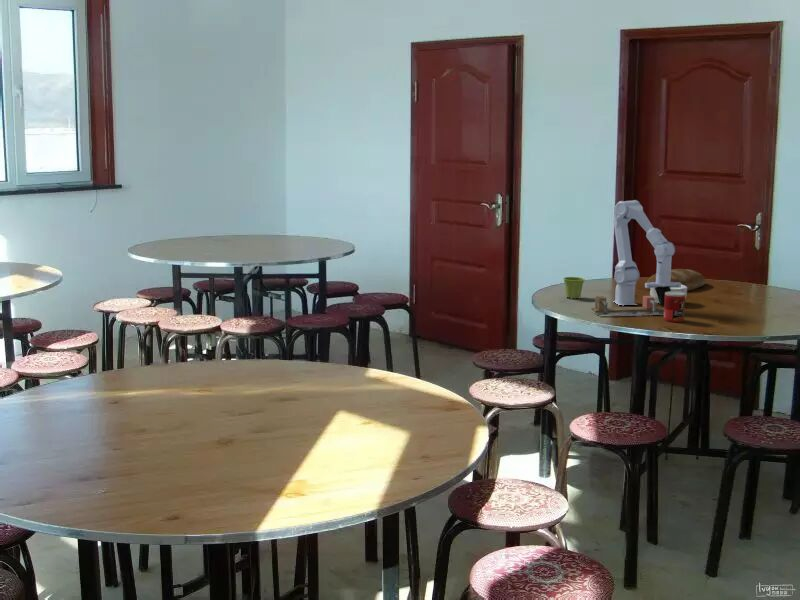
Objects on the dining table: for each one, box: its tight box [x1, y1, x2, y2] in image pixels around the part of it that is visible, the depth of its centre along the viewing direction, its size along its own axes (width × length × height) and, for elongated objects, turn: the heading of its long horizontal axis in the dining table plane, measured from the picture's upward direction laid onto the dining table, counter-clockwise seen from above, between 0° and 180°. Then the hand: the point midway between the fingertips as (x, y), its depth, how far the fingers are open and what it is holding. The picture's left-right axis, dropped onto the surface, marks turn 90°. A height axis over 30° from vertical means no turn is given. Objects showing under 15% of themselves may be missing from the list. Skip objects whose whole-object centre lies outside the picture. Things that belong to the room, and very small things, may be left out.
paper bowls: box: [649, 285, 688, 304], centre depth 425 cm, size 15×15×8 cm
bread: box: [646, 268, 706, 292], centre depth 465 cm, size 22×37×8 cm, turn 138°
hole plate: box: [595, 311, 664, 317], centre depth 401 cm, size 6×30×1 cm, turn 96°
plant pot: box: [562, 276, 585, 299], centre depth 437 cm, size 9×9×9 cm
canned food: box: [663, 291, 686, 323], centre depth 390 cm, size 8×8×11 cm
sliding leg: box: [642, 295, 657, 311], centre depth 405 cm, size 10×3×5 cm, turn 6°
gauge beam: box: [591, 295, 664, 312], centre depth 404 cm, size 10×30×6 cm, turn 96°
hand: (661, 305), depth 408 cm, fingers closed
